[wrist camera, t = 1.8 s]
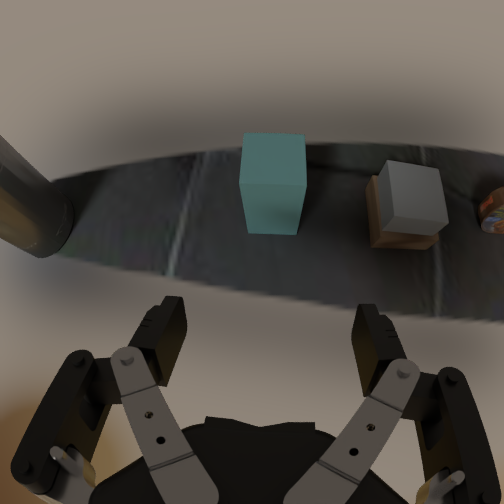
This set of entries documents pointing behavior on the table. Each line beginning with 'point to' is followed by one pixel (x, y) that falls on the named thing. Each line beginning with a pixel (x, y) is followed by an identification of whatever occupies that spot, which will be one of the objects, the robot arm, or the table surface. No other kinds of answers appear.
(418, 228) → the tower top
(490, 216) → the tin
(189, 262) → the table surface
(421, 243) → the tower base
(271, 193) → the block
